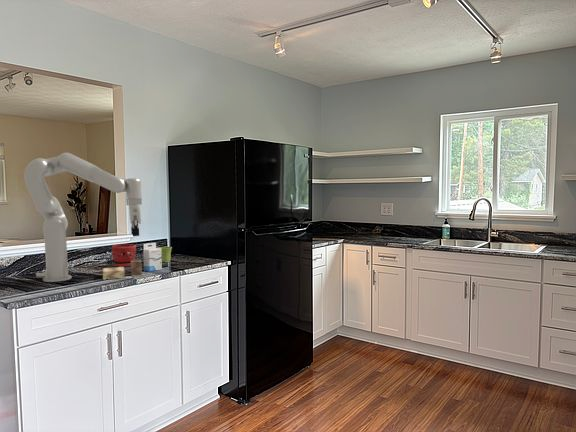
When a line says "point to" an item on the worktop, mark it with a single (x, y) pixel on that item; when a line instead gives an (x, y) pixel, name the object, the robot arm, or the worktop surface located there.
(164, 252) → the plant pot
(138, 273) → the walnut block
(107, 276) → the maple block
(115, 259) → the plant pot
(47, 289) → the worktop surface
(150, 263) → the ink box
